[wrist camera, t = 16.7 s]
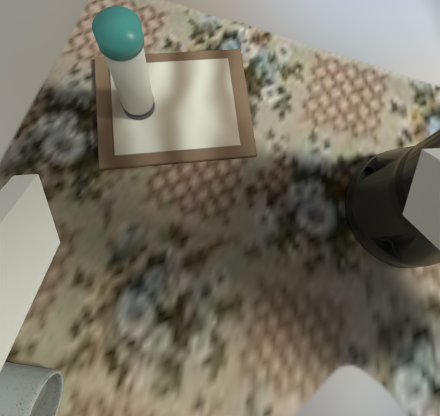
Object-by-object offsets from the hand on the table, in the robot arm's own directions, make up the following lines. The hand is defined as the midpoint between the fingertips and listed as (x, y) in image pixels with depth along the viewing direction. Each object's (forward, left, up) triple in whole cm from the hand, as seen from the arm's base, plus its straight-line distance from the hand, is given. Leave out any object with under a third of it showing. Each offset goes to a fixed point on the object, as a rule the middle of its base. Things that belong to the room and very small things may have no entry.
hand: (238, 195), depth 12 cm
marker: (+6, -21, -30) cm, 37 cm away
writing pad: (+2, -21, -31) cm, 37 cm away
